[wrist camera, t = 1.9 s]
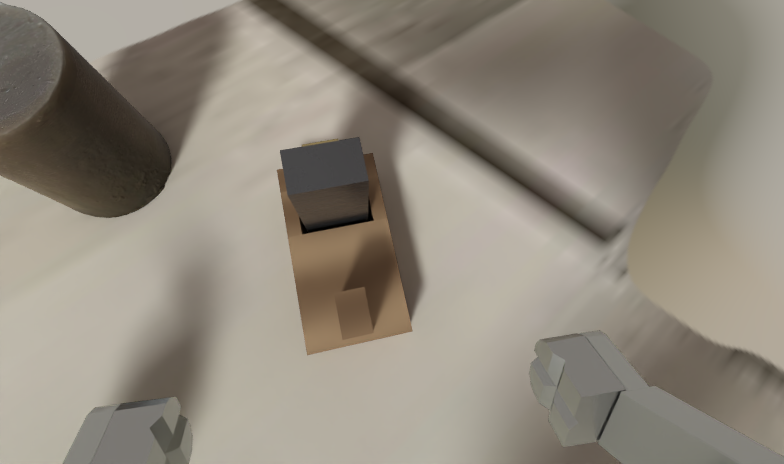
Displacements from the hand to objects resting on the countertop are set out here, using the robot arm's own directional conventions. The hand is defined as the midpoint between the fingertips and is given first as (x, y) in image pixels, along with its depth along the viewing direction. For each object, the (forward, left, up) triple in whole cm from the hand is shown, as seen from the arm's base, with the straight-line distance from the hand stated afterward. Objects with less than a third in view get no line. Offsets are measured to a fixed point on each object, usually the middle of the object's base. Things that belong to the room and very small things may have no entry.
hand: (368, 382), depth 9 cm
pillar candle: (+25, +13, -26) cm, 38 cm away
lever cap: (+11, -3, -26) cm, 28 cm away
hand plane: (+8, -2, -26) cm, 27 cm away
